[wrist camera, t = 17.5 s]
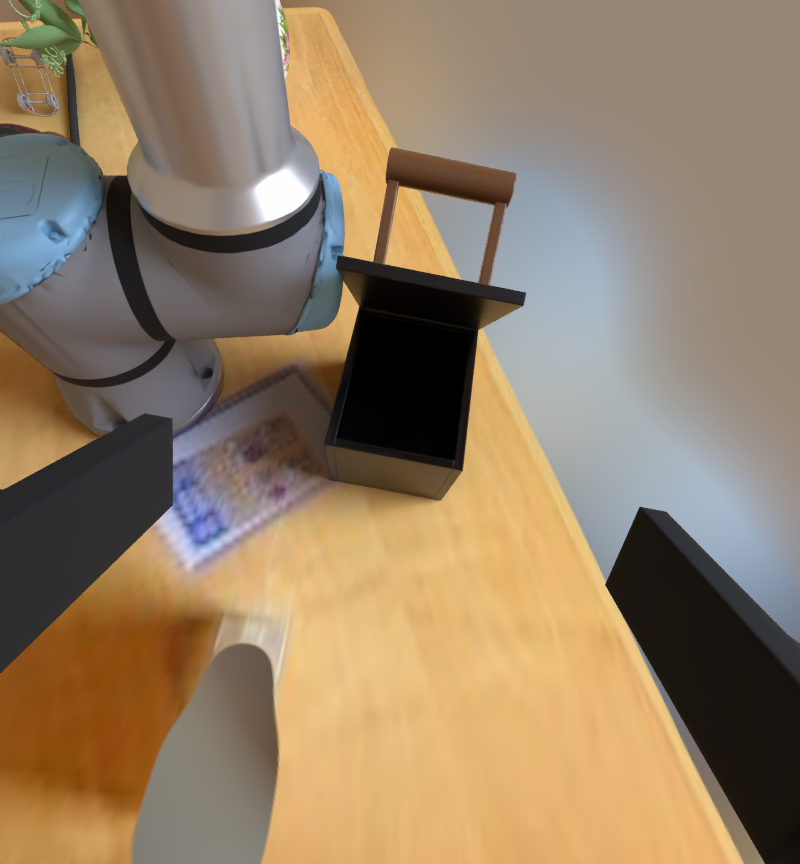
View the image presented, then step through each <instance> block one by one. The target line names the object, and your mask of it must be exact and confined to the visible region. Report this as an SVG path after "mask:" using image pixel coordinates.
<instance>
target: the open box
mask: <svg viewBox="0 0 800 864" xmlns="http://www.w3.org/2000/svg"><path fill="white" fill-rule="evenodd" d="M477 337H478V330H477V329H472V328H467V327H462V326H457V325H452V324H447V323H442V322H437V321H431V320H426V319H421V318H416V317H411V316H406V315H401V314H396V313H391V312H386V311H381V310H376V309H371V308H366V307H361V306H359V310H358V314H357V318H356V322H355V326H354V330H353V334H352V338H351V342H350V346H349V350H348V353H347V357H346V361H345V365H344V369H343V373H342V377H341V381H340V385H339V389H338V393H337V397H336V401H335V405H334V409H333V413H332V417H331V421H330V425H329V429H328V432H327V436H326V440H325V450H326V457H327V463H328V470H329V476H330V480H334V481H339V482H345V483H350V484H355V485H361V486H366V487H371V488H377V489H382V490H387V491H393V492H398V493H403V494H409V495H414V496H419V497H425V498H430V499H435V500H442V498H443V497H444V496H445V494H446V493H447V492H448V490H449V489H450V487H451V486H452V485H453V483H454V482H455V481H456V479H457V478H458V476H459V475H460V474H461V472H462V471H463V464H464V455H465V446H466V437H467V428H468V419H469V410H470V401H471V392H472V382H473V373H474V364H475V355H476V346H477Z"/></svg>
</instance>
